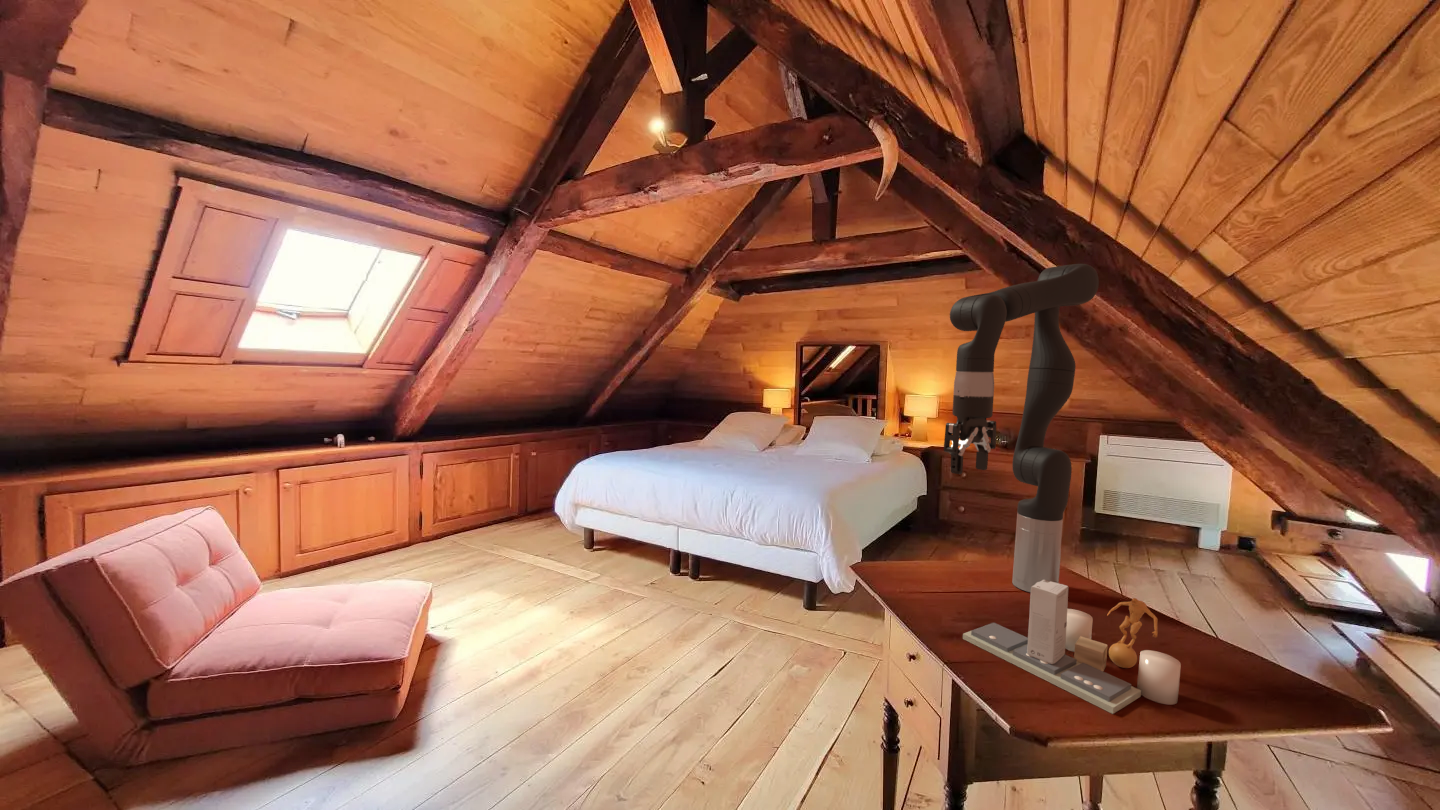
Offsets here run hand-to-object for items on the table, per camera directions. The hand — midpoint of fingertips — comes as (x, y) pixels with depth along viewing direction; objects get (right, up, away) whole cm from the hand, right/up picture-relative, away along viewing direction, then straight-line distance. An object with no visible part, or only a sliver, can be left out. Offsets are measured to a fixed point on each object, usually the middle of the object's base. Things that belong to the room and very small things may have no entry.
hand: (969, 471), depth 113 cm
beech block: (+12, -32, -19) cm, 39 cm away
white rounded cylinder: (+14, -31, -12) cm, 36 cm away
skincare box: (+4, -30, -19) cm, 35 cm away
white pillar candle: (+17, -32, -27) cm, 45 cm away
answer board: (+4, -31, -19) cm, 37 cm away
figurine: (+19, -32, -19) cm, 41 cm away
